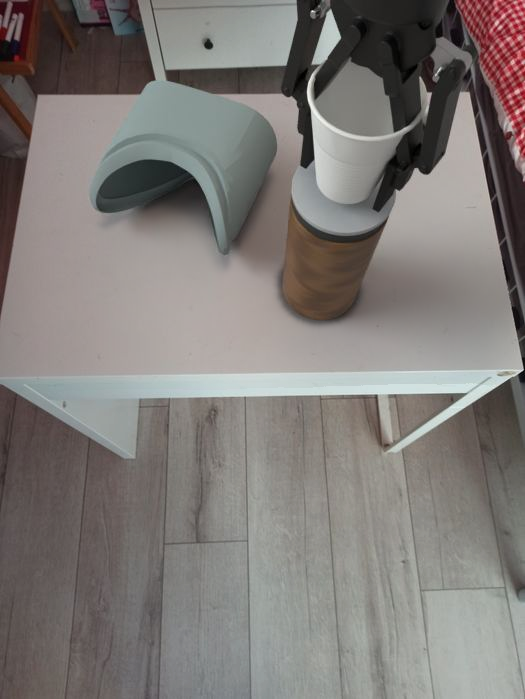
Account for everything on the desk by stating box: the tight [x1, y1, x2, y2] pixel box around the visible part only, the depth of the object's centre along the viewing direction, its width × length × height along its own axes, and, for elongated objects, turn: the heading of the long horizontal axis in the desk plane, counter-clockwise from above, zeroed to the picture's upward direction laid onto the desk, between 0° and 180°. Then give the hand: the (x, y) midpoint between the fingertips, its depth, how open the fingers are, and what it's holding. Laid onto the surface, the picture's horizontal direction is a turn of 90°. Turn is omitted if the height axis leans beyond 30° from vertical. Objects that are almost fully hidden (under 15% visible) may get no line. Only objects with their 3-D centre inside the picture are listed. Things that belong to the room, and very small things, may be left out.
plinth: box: [282, 192, 391, 321], centre depth 63 cm, size 11×11×20 cm
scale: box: [290, 159, 397, 243], centre depth 52 cm, size 11×11×2 cm
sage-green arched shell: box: [88, 79, 278, 256], centre depth 71 cm, size 22×19×13 cm
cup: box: [307, 58, 428, 204], centre depth 45 cm, size 10×10×11 cm
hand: (345, 179), depth 50 cm, fingers closed on cup, 8 cm apart
